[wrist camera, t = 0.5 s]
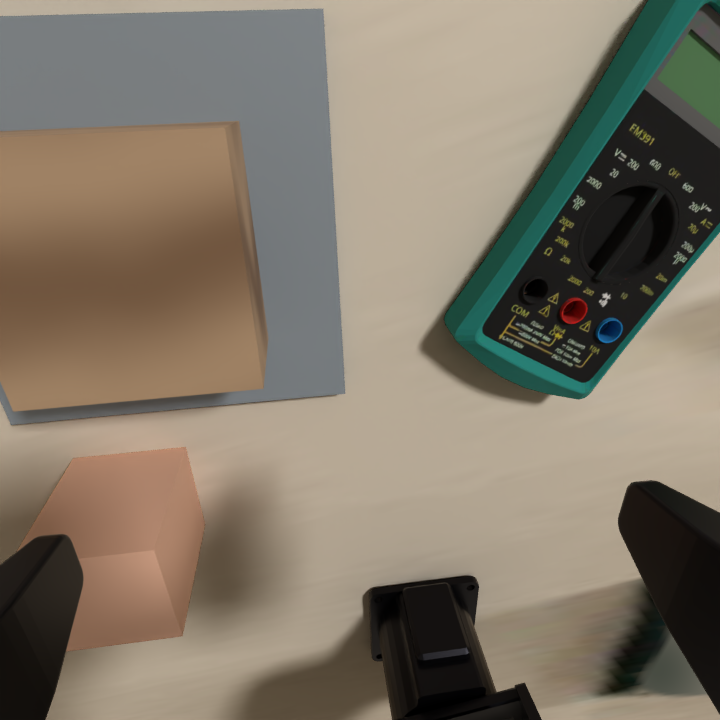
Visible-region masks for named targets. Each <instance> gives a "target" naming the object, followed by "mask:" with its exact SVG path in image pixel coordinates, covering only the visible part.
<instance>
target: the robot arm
mask: <svg viewBox="0 0 720 720" xmlns="http://www.w3.org/2000/svg"><path fill="white" fill-rule="evenodd" d="M618 526H619V530H620V533H621V535H622V538H623V540H624V542H625V544H626V546H627V548H628V550H629V552H630V554H631V556H632V558H633V560H634V562H635V564H636V566H637V568H638V570H639V573H640V575H641V577H642V579H643V581H644V583H645V585H646V587H647V589H648V591H649V593H650V595H651V597H652V599H653V601H654V603H655V605H656V607H657V609H658V611H659V613H660V615H661V617H662V619H663V621H664V622H665V624H666V626H667V628H668V629H669V631H670V633H671V635H672V636H673V638H674V640H675V641H676V643H677V645H678V646H679V648H680V650H681V651H682V653H683V654H684V656H685V658H686V659H687V661H688V663H689V664H690V666H691V668H692V669H693V671H694V673H695V674H696V676H697V678H698V679H699V681H700V683H701V684H702V686H703V688H704V689H705V691H706V693H707V694H708V696H709V697H710V699H711V701H712V702H713V704H714V706H715V707H716V709H717V711H718V712H719V714H720V513H719V512H717V511H715V510H713V509H711V508H709V507H707V506H705V505H704V504H702V503H700V502H698V501H696V500H694V499H692V498H690V497H688V496H686V495H684V494H682V493H680V492H678V491H676V490H674V489H672V488H670V487H668V486H666V485H664V484H662V483H660V482H658V481H652V480H650V481H639V482H633V483H631V484H630V485H629V486H628V487H627V490H626V493H625V496H624V500H623V503H622V506H621V510H620V513H619V517H618ZM83 581H84V576H83V570H82V567H81V564H80V562H79V559H78V556H77V554H76V551H75V548H74V546H73V543H72V541H71V539H70V537H69V536H68V535H66V534H54V535H43V536H38V537H36V538H34V539H33V540H31V541H30V542H29V543H27V544H26V545H25V546H23V547H22V548H21V549H20V550H18V551H17V552H16V553H15V554H13V555H12V556H11V557H9V558H8V559H7V560H6V561H4V562H3V563H2V564H1V565H0V720H45V719H46V717H47V714H48V711H49V708H50V705H51V702H52V699H53V697H54V694H55V690H56V687H57V683H58V680H59V676H60V673H61V669H62V665H63V661H64V657H65V653H66V650H67V646H68V642H69V638H70V634H71V630H72V626H73V623H74V619H75V615H76V611H77V607H78V603H79V599H80V596H81V592H82V588H83ZM478 590H479V584H478V582H477V579H476V578H475V577H473V576H468V577H460V578H452V579H444V580H437V581H429V582H421V583H414V584H406V585H398V586H390V587H383V588H376V589H373V590H372V591H371V592H370V593H369V605H370V630H371V653H372V658H373V660H374V661H383V666H384V672H385V678H386V685H387V691H388V697H389V703H390V709H391V716H392V720H542V719H541V717H540V715H539V713H538V711H537V709H536V706H535V704H534V702H533V700H532V698H531V695H530V693H529V691H528V689H527V687H526V684H525V683H521V684H518V685H515V688H511V689H507V690H503V691H500V692H496V689H495V686H494V683H493V680H492V677H491V675H490V672H489V669H488V666H487V663H486V660H485V657H484V654H483V651H482V648H481V645H480V642H479V640H478V637H477V634H476V631H475V628H474V624H475V615H476V607H477V599H478Z"/></svg>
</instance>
